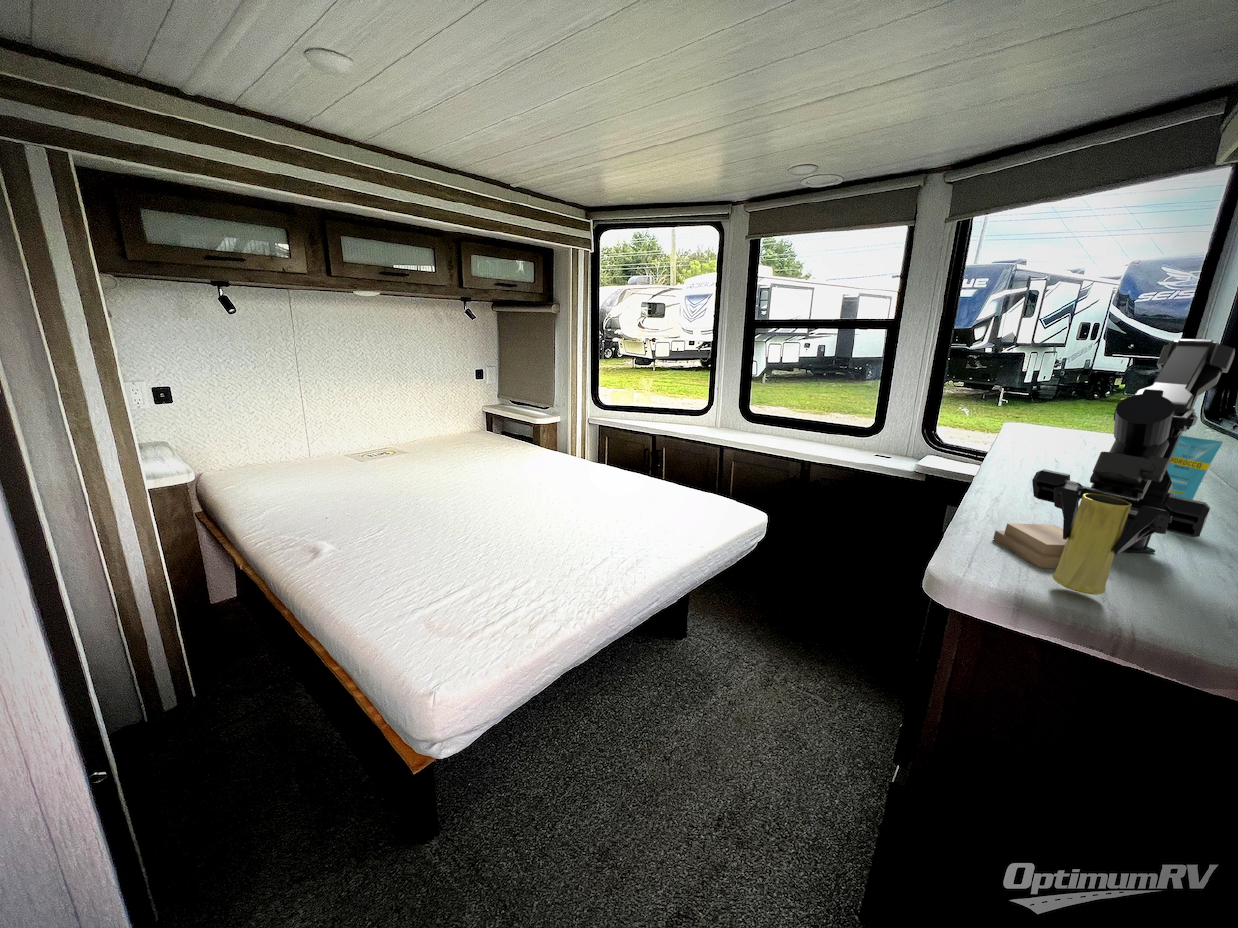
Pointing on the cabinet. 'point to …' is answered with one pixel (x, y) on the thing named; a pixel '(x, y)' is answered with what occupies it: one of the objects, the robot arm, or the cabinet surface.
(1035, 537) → the pedestal
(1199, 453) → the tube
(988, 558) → the cabinet surface
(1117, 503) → the vase
